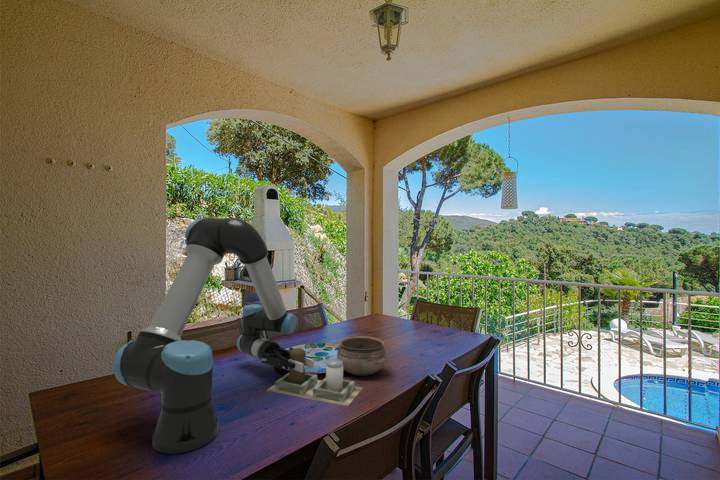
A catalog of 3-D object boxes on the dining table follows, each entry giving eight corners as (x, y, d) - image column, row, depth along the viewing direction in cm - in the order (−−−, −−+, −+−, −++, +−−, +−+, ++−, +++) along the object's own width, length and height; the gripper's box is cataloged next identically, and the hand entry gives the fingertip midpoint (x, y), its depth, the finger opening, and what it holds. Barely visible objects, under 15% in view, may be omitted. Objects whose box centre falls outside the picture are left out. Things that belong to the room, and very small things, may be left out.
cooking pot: (402, 377, 129) (402, 344, 129) (367, 392, 115) (368, 356, 115) (356, 359, 147) (357, 331, 147) (321, 370, 133) (322, 339, 133)
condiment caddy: (347, 410, 103) (347, 398, 103) (266, 393, 113) (266, 382, 113) (362, 391, 116) (362, 380, 116) (288, 377, 126) (288, 367, 126)
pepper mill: (302, 385, 113) (302, 352, 113) (285, 383, 114) (285, 351, 114) (308, 378, 119) (309, 347, 119) (292, 376, 120) (292, 345, 120)
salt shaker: (338, 397, 108) (339, 365, 108) (322, 394, 110) (323, 363, 110) (345, 390, 114) (346, 359, 114) (330, 387, 115) (330, 357, 115)
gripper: (284, 354, 135) (326, 370, 120) (245, 366, 122) (287, 385, 107) (284, 335, 135) (326, 348, 120) (246, 345, 122) (287, 361, 107)
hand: (307, 366), depth 113 cm, fingers closed on pepper mill, 4 cm apart
